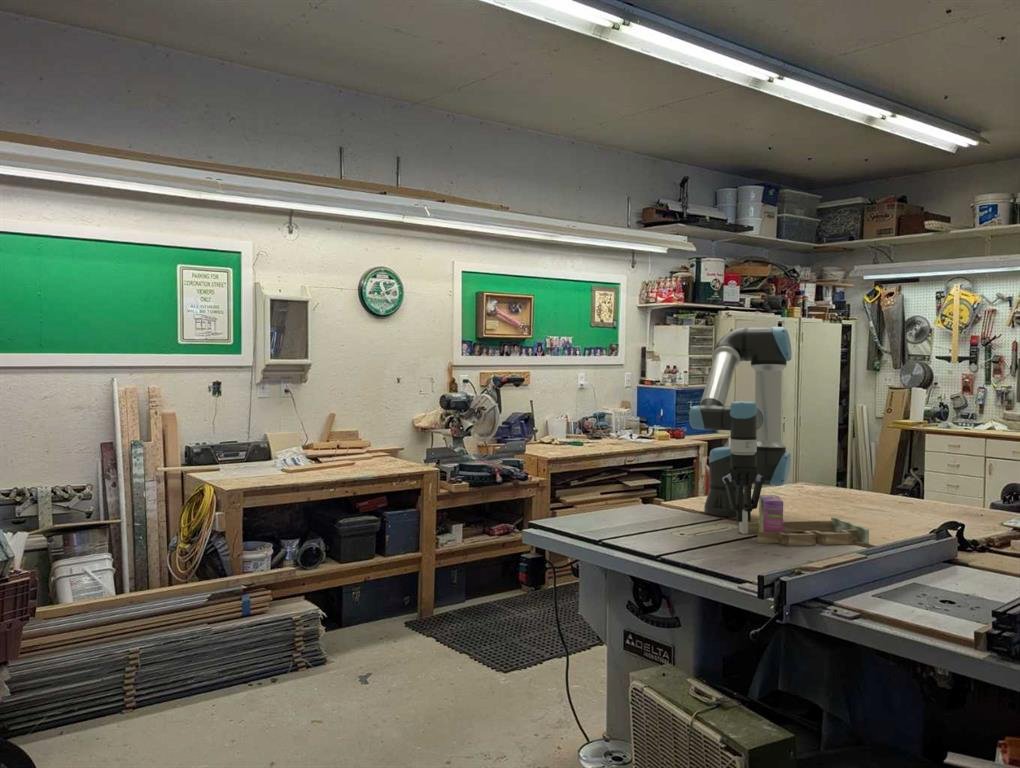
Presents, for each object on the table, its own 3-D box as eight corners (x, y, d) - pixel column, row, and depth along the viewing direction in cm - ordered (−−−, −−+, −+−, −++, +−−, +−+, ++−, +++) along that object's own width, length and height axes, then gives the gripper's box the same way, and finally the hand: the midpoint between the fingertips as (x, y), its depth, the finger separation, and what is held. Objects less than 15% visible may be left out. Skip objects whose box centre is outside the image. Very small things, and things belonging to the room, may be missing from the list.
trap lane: (738, 532, 236) (738, 519, 235) (834, 529, 239) (834, 517, 239) (764, 546, 217) (764, 532, 217) (868, 543, 220) (868, 529, 220)
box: (783, 541, 223) (783, 500, 223) (762, 540, 224) (762, 500, 224) (778, 534, 233) (778, 495, 233) (758, 533, 234) (758, 494, 234)
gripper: (727, 455, 223) (727, 535, 224) (770, 454, 224) (770, 534, 225) (717, 452, 231) (717, 530, 231) (759, 451, 232) (759, 529, 232)
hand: (743, 532), depth 228 cm, fingers closed
